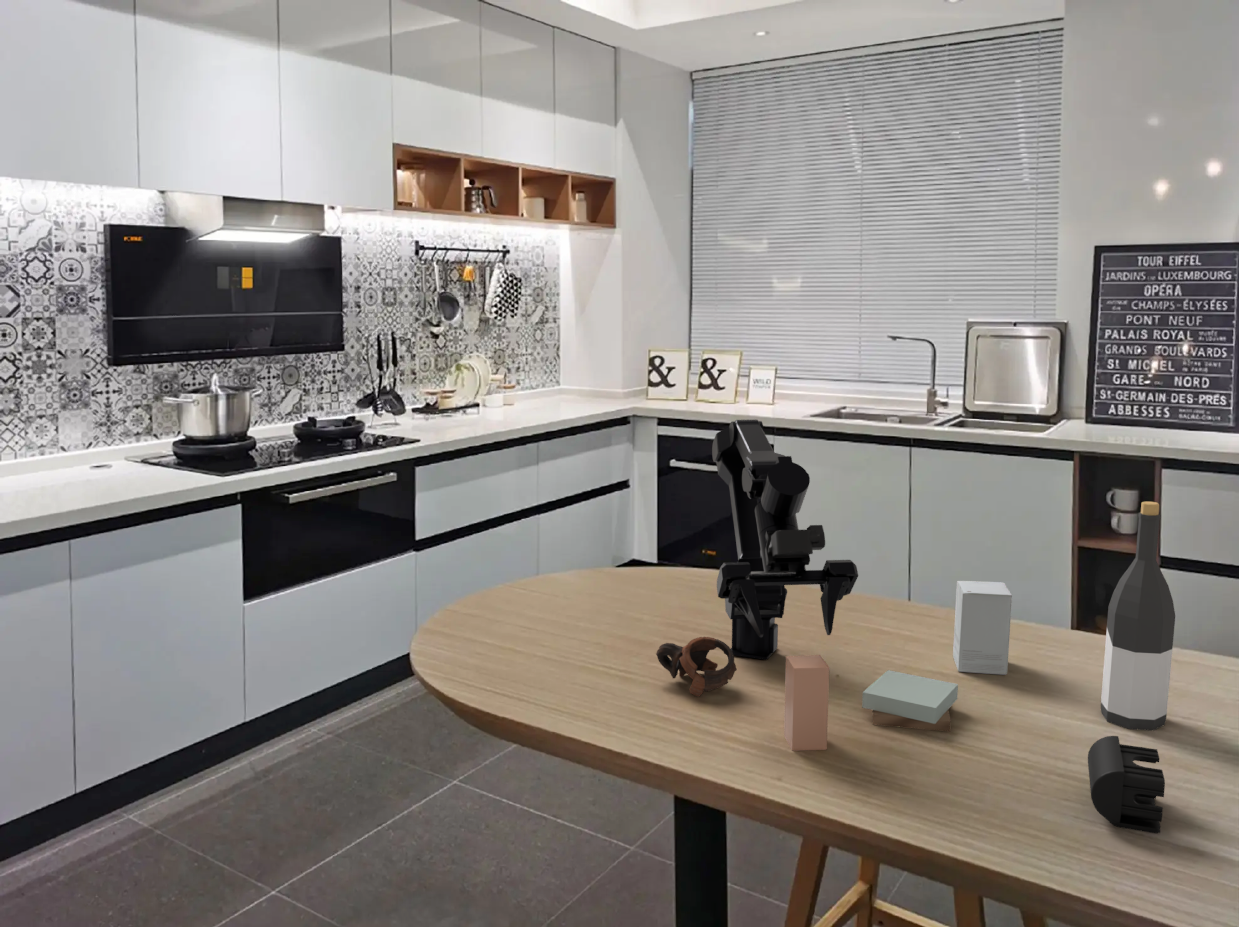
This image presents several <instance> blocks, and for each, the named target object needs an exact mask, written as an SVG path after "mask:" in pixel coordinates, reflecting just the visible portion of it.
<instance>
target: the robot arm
mask: <svg viewBox="0 0 1239 927" xmlns="http://www.w3.org/2000/svg"><path fill="white" fill-rule="evenodd" d="M711 446H712V448H711V451H712V452H711V453H712V454H711V455H712V460H713V463H715V464H716V469H717V475H718V476H719V477H720V478H721V480H723V481H724V483H725V484H726V485H727V486H728V488H729V496H730V505H731V512H732V521H733V527H734V535H735V536H734V537H735V542H736V543H735V544H736V552H737V560H738V561H736V562H734V561H733V562H731V561H730V562H728V561H727V562H723V563H722V565H721V566H720V567H719V570H718V575H717V579H716V590H717V591H716V592H717V593H716V594H717V597H718V598H719V599H721V600H723V599H724V605H725V606H724V607H725V608H724V609H725V612H726V614H727V616H728V618H729V619H730V620H731V621H732V622H731V647H730V649H731V650H732V653H733V656H737V657H743V658H751V659H758V660H765V661H766V660H768V659H769V658H770V657H771V656H772V655H773V653H775V651H776V650H778V647H779V646H778V642H779V640H778V638H779V637H778V636H779V625H778V623H776V620H775V619H777V618H778V619H783V615H784V614H785V606H786V605H785V604H786V599H787V595H788V589H787V588H786V586H803V585H804V586H805V585H806V586H807V585H808V586H810V585H819V588H820V592H822V594H821V596H820V597H819V598H820V605H821V610H822V611H821V612H822V618H823V626H824V629H825V632H826V635H827V636H831V634H832V632H833V626H834V619H835V613H836V608H837V602H839V601H841V600H843V598H844V596H848V595H850V594H851V592H852V590H853V588H854V586H855V584H856V581H857V579H858V577H859V572H858V568H857V565H856V563H854V562H853V560H851V559H826V561H825V563H824V565H823V568H822V569H812V570H811V569H810V570H809V569H808V570H807V568H806V566H809V564H810V562H811V558H810V555H813V554H814V553H813V551H822V549H824V548H825V547H826V535H825V532H824V526H823V525H822V524H818V525H817V524H810V525H809V526H807V528H806V529H799V525H798V520H797V514H798V513H799V512H800V511H801V509H802V506H803V503H804V500H805V497H806V495H807V492H808V489H809V487H810V486H809V485H810V482H811V480H810V479H811V478H810V474H809V473H808V472H807V471H806V469H805V468H804V467H803V466H801V465H800V464H799V463H796V462H793V459H792V458H793V457H792V455H785V454H781V453H778V452H775V451H774V449H773V447H772V445H771V443H770V441H769V439H768V438H767V436H766V432H765V431H764V424H763V421H762V420H758V419H735V420H733V421H730V423H729V426H728V427H726V428H723V429H722V430H720V431H719V432H716V434H715V437H714V439H713V442H712V445H711Z"/></svg>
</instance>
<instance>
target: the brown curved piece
mask: <svg viewBox="0 0 1239 927" xmlns="http://www.w3.org/2000/svg"><path fill="white" fill-rule="evenodd" d="M717 648H718V649H720V650H721V651H722V652H723V654H725V656H726V657H727V664H726V665H725V666H724V667H723V668H720V669H717V668H718V663H717V662H714V661H712V660H711V659H709V658H707V656H708V654H709V652H710V651H714V650H716V649H717ZM655 655H656V657H657V660H658V662H659V663H660V665H661V666H662V667H663V668H664V669H665V670H667V671H668V672H669V674H670V676H671V677H672V679H676V678H677V675H678V674H679V675H678V676H679V677H680V678H683V677H684V676H685V675H688V676H689V678H690V679H692V682H691V685H690V687H689V689H688V690H689V693H690V695H691V694H692V695H693V696H694V697H700V696H701V695H702V694H703V693H704V692H710V691H714V690H716V689H718V688H721V687H723V686H725V685H727V684H728V683H729V680H732V679H733V677H734V675H735V673H736V672H737V671H738V670H737V665H736V663H735V655H733V653H732V650H731V647H730V646H729V645H728V644H727V643H726V642H724V641H722V640H719V639H718V638H717V639H716V638H714V637H710V636H703V637H702V636H699V637H695V638H693V639H691V640H690V641H689V642H688V643H687V644H686V645H684V646H680V645H677V644H675V643H671V642H665V643H662V644H661V645H659V647H658V649H657V651H656V653H655ZM678 672H679V673H678ZM699 672H703V673H704V674H703V675H702V674H700V673H699Z"/></svg>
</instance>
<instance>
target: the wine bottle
mask: <svg viewBox="0 0 1239 927" xmlns="http://www.w3.org/2000/svg"><path fill="white" fill-rule="evenodd" d="M1159 512H1160V504H1159V503H1158V502H1155V501H1145V500H1144V501H1142V502H1141V507H1140V512H1138V514H1137V515H1138V516H1137V517H1138V524H1137V536H1136V547H1135V549H1136V550H1135V558H1134V559H1133V561H1132V562H1131V564H1130V565H1129V566H1128V567H1127V569H1126V571H1124V573H1123V574H1122V575H1121V577H1120V578H1119V580H1118V582H1117V584H1116V586H1115V588H1114V590H1113V592H1112V594H1111V598H1110V601H1109V604H1108V607H1107V609H1108V610H1107V620H1106V621H1107V623H1106V634H1105V647H1104V658H1103V671H1102V672H1103V673H1102V684H1101V686H1102V687H1101V698H1100V713H1101V715H1102V717H1104V719H1105V720H1106V722H1108V723H1110V724H1113V725H1116V726H1119V727H1121V726H1122V728H1124V729H1128V730H1137V729H1138V730H1141V731H1152V730H1153V731H1154V730H1157V729H1158V728H1159V729H1160V728H1161V727H1164V726H1165V725H1166V720H1167V716H1168V715H1167V713H1168V704H1169V703H1168V702H1169V691H1170V690H1169V689H1170V680H1171V669H1172V659H1173V646H1174V635H1175V624H1176V611H1175V605H1174V600H1173V597H1172V593H1171V590H1170V587H1169V584H1168V582H1167V580H1166V578H1165V576H1164V574H1163V572H1162V569H1161V568H1160V565H1159V564H1158V561H1157V554H1158V553H1157V551H1158V542H1159V540H1158V539H1159V530H1160V520H1161V518H1162V515H1161V513H1159ZM1163 725H1164V726H1163Z"/></svg>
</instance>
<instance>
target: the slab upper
mask: <svg viewBox="0 0 1239 927" xmlns="http://www.w3.org/2000/svg"><path fill="white" fill-rule="evenodd" d="M958 688H959V684H958V683H954V682H949V681H944V680H939V679H933V678H930V677H926V676H925V677H924V676H920V675H915V674H911V673H910V674H909V673H904V672H900V671H894V670H889V669H888V670H886V671H885V672H884V673H883V674H882V675H881V676H879V677H878V678H877V679H876V680H875V681H874V682H873V683H871V684H870V685H869V686H868V687H867V688H865V690H864V691H862V700H861V701H862V702H861V704H862V706H861V708H863V709H867V710H871V711H873V710H876V711H880V712H884V713H889V714H893V715H898V716H902V717H907V718H911V719H916V720H920V721H924V722H929V723H933V724H935V723H936V722H937V721H938V720H939V719H940V718H941V717H942V716H943V715H944V713H945V712H946V711H947V710H948V709H950V708H951V707H952V706H953V705H954V703H955V702H956V701H957V700H958V693H959V689H958Z"/></svg>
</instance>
